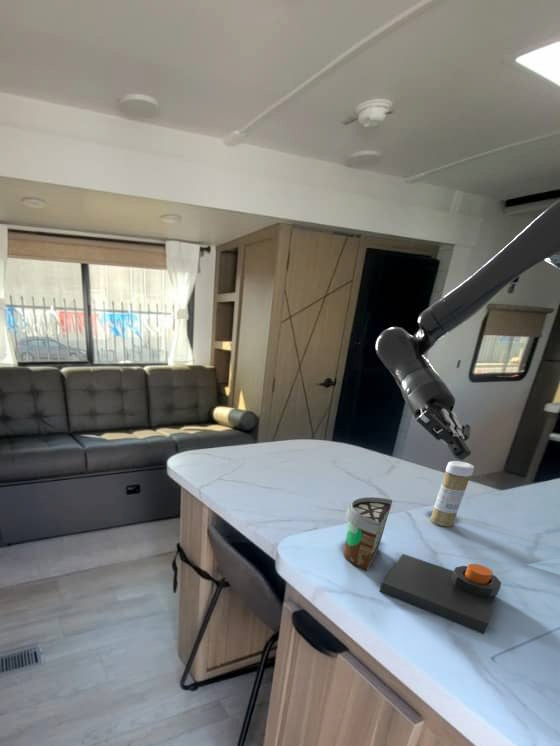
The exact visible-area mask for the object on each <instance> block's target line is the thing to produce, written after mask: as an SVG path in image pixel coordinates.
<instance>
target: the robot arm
mask: <svg viewBox="0 0 560 746" xmlns="http://www.w3.org/2000/svg"><path fill="white" fill-rule="evenodd" d="M544 261H545V262H547V263H549V264H551V265H552V266H554V267H556V268H558V269H559V270H560V199H558V200H556V201H555V202H554V203H553V204H551V205H549V207H547V208H546V209H545V210H544V211H543V212H542V213H540V214H539V215H538V216H537V218H535V219H534V220H533V221H532V222H531V223H530V224H529V225H527V226H526V227H525V228H524V229H523V230H522V231H521V232H520V233H519V234H518V235H516V236H515V237H514V239H512V240H511V241H510V242H509V243H507V245H506V246H505V247H503V248H502V249H500V251H499V252H497V253H496V254H495V255H494V256H493V257H492V258H491V259H490V260H488V261H487V262H486V263H485V264H484V265H482V266H481V267H480V268H479V269H477V271H475V272H474V273H473V274H472V275H470V276H469V277H467V278H466V279H465V280H464V281H463V282H461V283H460V284H458V285H457V286H456V287H454V288H453V289H452V290H450V291H449V292H447V293H446V294H445V295H443V296H442V297H441V298H439V299H438V300H437V301H435V302H434V303H433V304H431V305H430V306H428V307H427V308H425V309H424V310H423V311H422V312H421V313H420V314H419V315H418V317H417V324H418V326H419V329H418V330H417V332H415V333H414V334H413V335H411V334H410V333H409V332H408V331H407V330H405V329H404V328H403V327H399V326H391V327H388V328H386V329H384V330H383V331H382V332H381V333H380V334H379V335H378V337H377V338H376V340H375V346H374V348H375V353H376V355H377V357H378V358H379V360H380V361H381V362H382V364H383V365H384V366H385V367H386V369H387V370H388V371H389V372H390V374H391V375H392V376H393V378H394V380H395V382H396V385H397V386H398V388H399V389H400V391H401V395H402V398H403V399H404V401H405V403H406V405H407V407H408V408H409V410H410V411H411V413H412V415H413V417H414V419H415V420H416V422H417V423H419V424H420V425H421V426H422V428H424V429H425V430H426V431H427V432H428V433H429V434H430V435H431V436H432V437H433V438H434V439H435V440H437V441H440V440H441V441H442V443H443V444H444V445H445V446H447V447H448V449H449V450H450V452H451V454H452V456H453V457H454V458H455V459H457V460H459V461H460V460H461V461H463V460H465V459H466V458H467V457H470V455H471V454H472V452H471V450H470V448H469V446H468V445H467V444H466V441H468V440H469V439H470V437H471V426H470V424H468V423H465V424H463V425H462V424H461V423H460V421H459V417H458V415H457V414H456V412H455V411H453V409H454V407H455V405H456V398H455V396H454V395H453V393H452V392H451V390H450V389H449V387H448V386H447V384H446V383H445V381H444V380H443V379H442V377H441V376H440V374H439V373H438V372H436V370H435V369H434V368H433V366H432V365H431V363H430V362H429V360H428V359H427V358H426V357H425V354H427V353H428V352H429V351H430V350H431V349H432V348H433V347H434V346H435V345H436V344H437V342H439V340H440V339H441V338H443V337H445V335H447V334H449V333H451V332H452V331H453V330H455V329H457V328H458V327H459V326H461V325H462V324H464V323H465V322H467V321H468V320H470V319H471V318H472V317H474V316H475V315H476V314H477V313H479V312H480V311H481V310H482V309H483V308H484V307H485V306H486V305H488V303H490V302H491V301H492V300H493V299H494V298H495V297H496V296H497V295H498V294H499V293H500V292H501V291H502V290H504V289H505V288H506V287H507V286H508V285H510V284H511V283H512V282H513V281H515V280H516V279H517V278H518V277H520V276H522V275H523V274H524V273H526V272H527V271H529V270H530V269H532V268H533V267H535V266H537V265H539V264H541V263H542V262H544Z"/></svg>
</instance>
